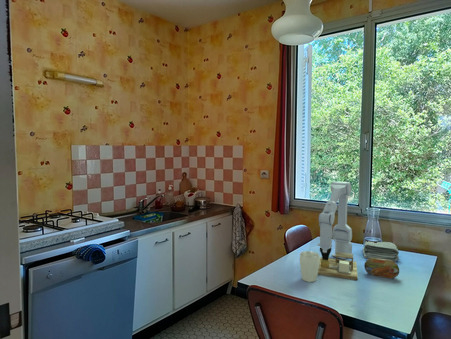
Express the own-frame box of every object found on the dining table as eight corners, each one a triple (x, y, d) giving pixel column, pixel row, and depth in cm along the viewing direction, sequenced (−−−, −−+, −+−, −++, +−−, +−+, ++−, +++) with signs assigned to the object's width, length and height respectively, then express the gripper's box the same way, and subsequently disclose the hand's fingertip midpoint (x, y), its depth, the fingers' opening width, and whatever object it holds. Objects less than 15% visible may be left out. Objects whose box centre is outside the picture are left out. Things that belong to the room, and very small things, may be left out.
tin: (364, 274, 151) (364, 257, 150) (364, 272, 153) (364, 255, 153) (399, 280, 144) (399, 262, 143) (398, 278, 146) (399, 260, 146)
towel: (399, 262, 168) (399, 248, 167) (362, 258, 175) (363, 244, 174) (396, 254, 182) (396, 241, 181) (362, 250, 189) (362, 238, 188)
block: (339, 268, 152) (339, 260, 152) (348, 269, 151) (349, 261, 150) (339, 271, 148) (339, 263, 148) (348, 272, 147) (349, 264, 147)
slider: (321, 265, 157) (321, 258, 156) (350, 269, 151) (350, 262, 151) (320, 269, 151) (320, 262, 151) (350, 274, 146) (350, 266, 146)
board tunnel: (319, 259, 171) (319, 246, 170) (356, 264, 164) (356, 250, 163) (315, 273, 150) (315, 258, 150) (357, 280, 143) (358, 264, 143)
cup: (308, 284, 138) (309, 258, 137) (295, 277, 146) (295, 252, 145) (323, 281, 142) (324, 255, 141) (309, 274, 150) (310, 250, 149)
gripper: (318, 232, 164) (318, 257, 164) (316, 238, 150) (315, 266, 151) (332, 233, 161) (332, 258, 162) (331, 240, 148) (330, 268, 148)
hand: (325, 262), depth 156 cm, fingers closed
